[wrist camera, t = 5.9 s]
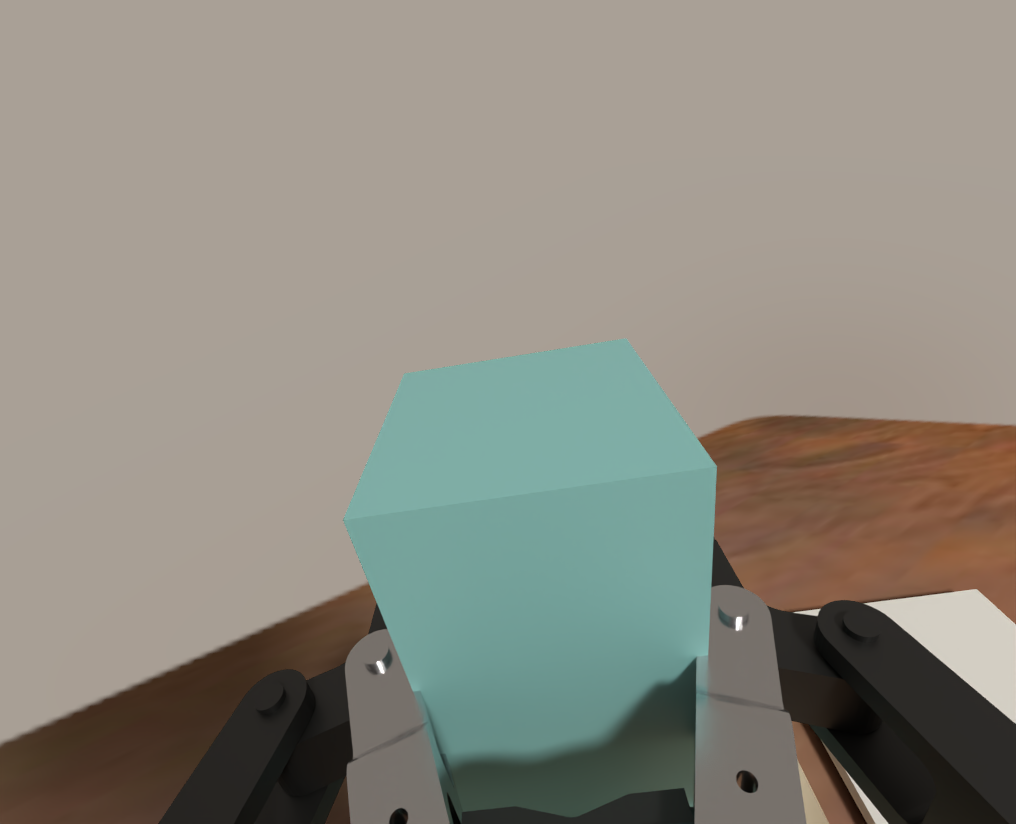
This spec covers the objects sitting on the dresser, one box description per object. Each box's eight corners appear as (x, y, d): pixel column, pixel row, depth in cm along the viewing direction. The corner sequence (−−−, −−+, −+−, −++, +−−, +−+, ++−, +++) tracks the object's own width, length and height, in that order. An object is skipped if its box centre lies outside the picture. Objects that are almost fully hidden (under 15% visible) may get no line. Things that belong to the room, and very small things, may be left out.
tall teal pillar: (495, 892, 12) (343, 519, 7) (495, 696, 17) (404, 373, 11) (698, 872, 12) (716, 466, 6) (643, 678, 16) (626, 338, 11)
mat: (913, 907, 12) (917, 898, 12) (757, 625, 19) (758, 616, 19) (1268, 874, 11) (1280, 864, 11) (973, 598, 18) (976, 588, 18)
